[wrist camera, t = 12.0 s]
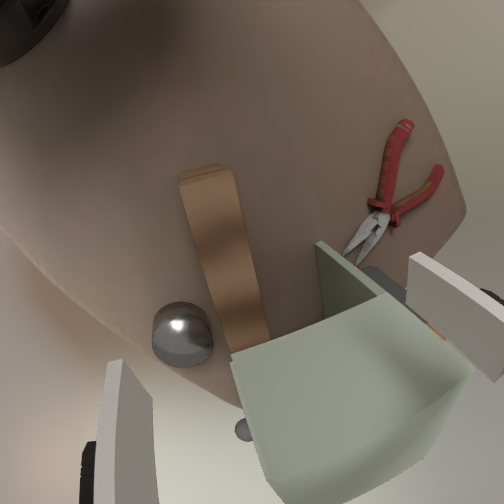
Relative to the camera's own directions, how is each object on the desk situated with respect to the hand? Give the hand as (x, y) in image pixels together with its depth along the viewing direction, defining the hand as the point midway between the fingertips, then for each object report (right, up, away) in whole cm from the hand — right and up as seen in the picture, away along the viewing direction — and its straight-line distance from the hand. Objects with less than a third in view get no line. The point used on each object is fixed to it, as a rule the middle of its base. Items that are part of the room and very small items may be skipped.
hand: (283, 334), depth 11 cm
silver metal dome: (-10, -6, +23) cm, 26 cm away
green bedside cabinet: (+2, -4, +25) cm, 26 cm away
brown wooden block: (-5, +2, +21) cm, 22 cm away
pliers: (+16, +12, +23) cm, 31 cm away
